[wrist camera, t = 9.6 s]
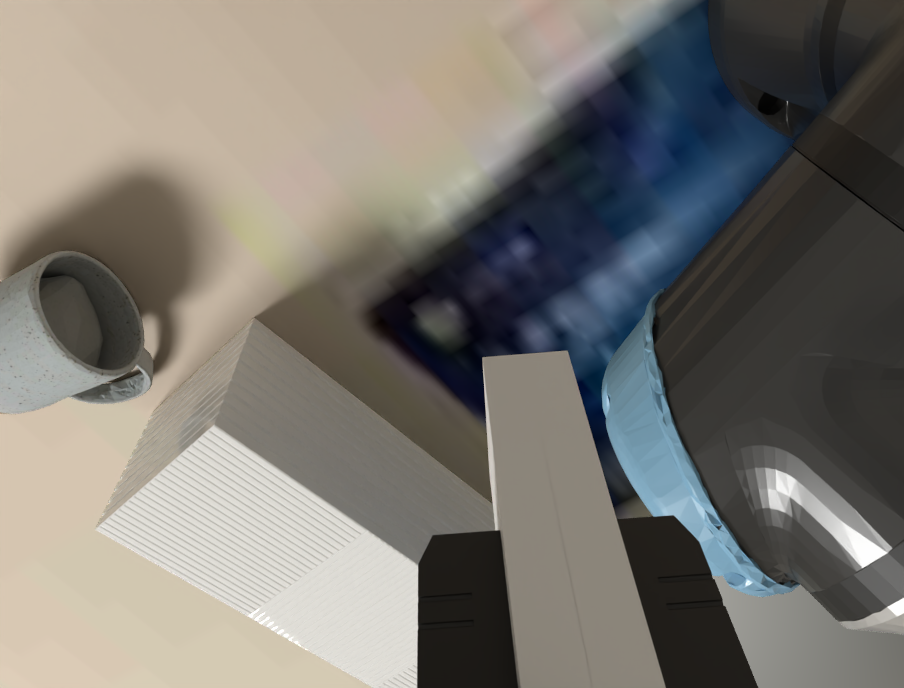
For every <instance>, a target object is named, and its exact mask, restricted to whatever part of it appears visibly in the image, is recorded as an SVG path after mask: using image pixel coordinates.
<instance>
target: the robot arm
mask: <svg viewBox="0 0 904 688" xmlns="http://www.w3.org/2000/svg"><path fill="white" fill-rule="evenodd" d="M708 27H709V37H710V44H711V48H712V53H713V56H714V60H715V63H716V66H717V68H718V71H719V73H720V75H721V77H722V79H723V81H724V83H725V85H726V86H727V88H728V89H729V91H730V92H731V94H732V95H733V96H734V97H735V99H736V100H737V101H738V102H739V103H740V104H741V105H742V106H743V107H744V108H745V109H746V110H747V111H748V112H749V113H751V114H752V115H753V116H755V117H756V118H757V119H759V120H760V121H761V122H763V123H764V124H765V125H767V126H768V127H769V128H771V129H773V130H774V131H776V132H778V133H779V134H782V135H784V136H786V137H788V138H791V139H793V140H796V141H795V142H794V143H793V144H792V145H793V146H794V147H795V148H794V147H793V146H790V147H789V148H788V149H787V151H786V152H785V153H784V154H783V155H782V157H781V158H780V159H779V160H778V161H777V162H776V164H775V165H774V166H773V167H772V168H771V170H770V171H769V172H768V173H767V174H766V176H765V177H764V178H763V179H762V180H761V181H760V183H759V184H758V185H757V186H756V187H755V188H754V189H753V191H752V192H751V193H750V194H749V195H748V196H747V197H746V199H745V200H744V201H743V202H742V203H741V204H740V205H739V207H738V208H737V209H736V210H735V211H734V212H733V213H732V215H731V216H730V217H729V218H728V219H727V220H726V221H725V223H724V224H723V225H722V226H721V227H720V228H719V229H718V231H717V232H716V233H715V234H714V235H713V236H712V237H711V239H710V240H709V241H708V242H707V243H706V244H705V245H704V247H703V248H702V249H701V250H700V251H699V252H698V253H697V255H696V256H695V257H694V258H693V259H692V260H691V262H690V263H689V264H688V265H687V266H686V267H685V268H684V270H683V271H682V272H681V273H680V274H679V275H678V276H677V278H676V279H675V280H674V281H673V282H672V283H671V284H670V286H669V287H668V288H666V289H660V290H659V291H658V292H657V293H656V294H655V295H654V296H653V297H652V299H651V300H650V302H649V304H648V306H647V308H646V313H645V315H644V317H643V318H642V319H641V321H640V322H639V323H638V324H637V326H636V327H635V328H634V329H633V331H632V332H631V333H630V335H629V336H628V337H627V338H626V340H625V341H624V342H623V343H622V345H621V346H620V347H619V349H618V350H617V351H616V352H615V354H614V355H613V357H612V358H611V360H610V362H609V364H608V366H607V369H606V371H605V375H604V379H603V384H602V402H603V405H602V407H603V410H604V413H605V416H606V427H607V431H608V435H609V438H610V441H611V444H612V446H613V449H614V451H615V453H616V455H617V458H618V460H619V462H620V464H621V466H622V468H623V470H624V472H625V474H626V476H627V478H628V479H629V481H630V483H631V484H632V486H633V488H634V489H635V491H636V492H637V494H638V495H639V497H640V498H641V500H642V501H643V503H644V504H645V506H646V507H647V508H648V510H649V511H650V512H651V514H652V515H653V517H642V518H629V519H616V515H615V512H614V508H613V505H612V502H611V498H610V495H609V491H608V488H607V484H606V481H605V478H604V474H603V471H602V467H601V464H600V460H599V457H598V454H597V450H596V447H595V443H594V440H593V437H592V433H591V430H590V426H589V423H588V419H587V416H586V413H585V409H584V406H583V402H582V399H581V395H580V392H579V389H578V385H577V382H576V378H575V375H574V371H573V368H572V365H571V361H570V358H569V354H568V351H557V352H544V353H531V354H518V355H505V356H492V357H482V360H483V376H484V393H485V409H486V425H487V442H488V458H489V473H490V483H491V492H492V502H493V511H494V521H495V531H481V532H468V533H454V534H441V535H432V537H431V539H430V541H429V543H428V545H427V547H426V549H425V551H424V553H423V556H422V558H421V560H420V562H419V564H418V640H417V688H758V686H757V684H756V681H755V679H754V676H753V674H752V671H751V669H750V666H749V664H748V661H747V659H746V656H745V654H744V651H743V649H742V646H741V644H740V641H739V639H738V637H737V634H736V632H735V629H734V627H733V624H732V622H731V619H730V617H729V614H728V612H727V610H726V607H725V606H723V602H722V597H721V594H720V592H719V589H718V587H717V585H716V582H715V580H714V579H713V578H712V575H713V576H721V575H723V577H724V578H725V580H726V581H727V583H728V584H729V586H730V587H732V588H734V589H736V590H738V591H741V592H743V593H746V594H749V595H753V596H761V597H765V596H770V595H775V594H778V593H779V594H784V593H787V592H792V591H793V590H794V589H795V588H796V587H797V586H799V585H800V584H801V585H802V586H803V587H804V588H805V589H806V590H807V591H808V592H809V593H810V594H811V595H812V596H813V597H814V598H815V599H816V600H817V601H818V602H819V603H820V604H821V605H823V607H824V608H825V609H826V610H827V611H828V612H829V613H830V614H831V615H832V616H833V617H834V618H835V619H836V620H837V621H838V622H839V623H840V624H841V625H842V626H844V627H845V628H848V629H854V630H864V631H876V632H886V633H897V634H901V635H904V0H709V5H708Z"/></svg>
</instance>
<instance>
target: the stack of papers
mask: <svg viewBox="0 0 904 688" xmlns="http://www.w3.org/2000/svg"><path fill="white" fill-rule="evenodd" d="M145 428H146V429H144V431H143V433H142V435H141V438H140V439H139V441H138V443H137V445H136V449H134V451H133V453H132V455H131V459H130V460H129V461H128V463H127V465H126V467H125V468H126V469H125V470H124V471H123V473H122V475H121V477H120V481H119V482H118V483H117V485H116V487H115V489H114V491H115V492H114V493H113V494H112V496H111V498H110V500H109V502H108V503H109V504H108V505H107V506H106V508H105V510H104V512H103V514H102V515H103V516H102V517H101V518H100V520H99V522H98V524H97V526H96V528H95V530H97V531H98V532H100V533H102V534H104V535H105V536H107V537H109V538H111V539H113V540H114V541H116V542H118V543H120V544H121V545H123V546H125V547H127V548H128V549H130V550H132V551H134V552H135V553H137V554H139V555H141V556H142V557H144V558H146V559H148V560H149V561H151V562H153V563H155V564H156V565H158V566H160V567H162V568H163V569H165V570H167V571H169V572H170V573H172V574H174V575H176V576H177V577H179V578H181V579H183V580H185V581H186V582H188V583H190V584H192V585H193V586H195V587H197V588H199V589H200V590H202V591H204V592H206V593H207V594H209V595H211V596H213V597H214V598H216V599H218V600H220V601H221V602H223V603H225V604H227V605H228V606H230V607H232V608H234V609H235V610H237V611H239V612H241V613H242V614H244V615H246V616H248V617H250V618H251V619H253V620H255V621H257V622H258V623H260V624H262V625H264V626H265V627H267V628H269V629H271V630H272V631H274V632H276V633H278V634H279V635H281V636H283V637H285V638H286V639H288V640H290V641H292V642H293V643H295V644H297V645H299V646H300V647H302V648H304V649H306V650H307V651H309V652H311V653H313V654H314V655H316V656H318V657H320V658H322V659H323V660H325V661H327V662H329V663H330V664H332V665H334V666H336V667H337V668H339V669H341V670H343V671H344V672H346V673H348V674H350V675H351V676H353V677H355V678H357V679H358V680H360V681H362V682H364V683H365V684H367V685H369V686H371V687H372V688H417V640H418V564H419V562H420V560H421V558H422V556H423V553H424V551H425V549H426V547H427V545H428V543H429V541H430V539H431V537H432V535H441V534H454V533H468V532H481V531H495V521H494V511H493V504H492V503H490V502H489V501H488V500H487V499H485V498H484V497H483V496H481V495H480V494H479V493H478V492H476V491H475V490H474V489H473V488H471V487H470V486H469V485H467V484H466V483H465V482H464V481H462V480H461V479H460V478H458V477H457V476H456V475H455V474H453V473H452V472H451V471H450V470H448V469H447V468H446V467H444V466H443V465H442V464H441V463H439V462H438V461H437V460H436V459H434V458H433V457H432V456H430V455H429V454H428V453H427V452H425V451H424V450H423V449H421V448H420V447H419V446H418V445H416V444H415V443H414V442H413V441H411V440H410V439H409V438H407V437H406V436H405V435H404V434H402V433H401V432H400V431H399V430H397V429H396V428H395V427H393V426H392V425H391V424H390V423H388V422H387V421H386V420H384V419H383V418H382V417H381V416H379V415H378V414H377V413H376V412H374V411H373V410H372V409H370V408H369V407H368V406H367V405H365V404H364V403H363V402H361V401H360V400H359V399H358V398H356V397H355V396H354V395H353V394H351V393H350V392H349V391H347V390H346V389H345V388H344V387H342V386H341V385H340V384H339V383H337V382H336V381H335V380H333V379H332V378H331V377H330V376H328V375H327V374H326V373H324V372H323V371H322V370H321V369H319V368H318V367H317V366H316V365H314V364H313V363H312V362H310V361H309V360H308V359H307V358H305V357H304V356H303V355H302V354H300V353H299V352H298V351H296V350H295V349H294V348H293V347H291V346H290V345H289V344H287V343H286V342H285V341H284V340H282V339H281V338H280V337H279V336H277V335H276V334H275V333H273V332H272V331H271V330H270V329H268V328H267V327H266V326H264V325H263V324H262V323H261V322H259V321H258V320H257V319H256V318H253V319H252V320H251V321H250V322H249V323H248V324H247V325H246V326H245V327H244V328H242V329H241V330H240V331H239V332H238V333H237V334H236V335H235V336H234V337H233V338H232V339H231V340H230V341H228V342H227V343H226V344H225V345H224V346H223V347H222V348H221V349H220V350H219V351H218V352H217V353H216V354H215V355H213V356H212V357H211V358H210V359H209V360H208V361H207V362H206V363H205V364H204V365H203V366H202V367H201V368H200V369H198V370H197V371H196V372H195V373H194V374H193V375H192V376H191V377H190V378H189V379H188V380H187V381H186V382H184V383H183V384H182V385H181V386H180V387H179V388H178V389H177V390H176V391H175V392H174V393H173V394H172V395H171V396H169V397H168V398H167V399H166V400H165V401H164V402H163V403H162V404H161V405H160V406H159V407H158V408H157V409H155V410H154V411H153V413H152V415H151V417H150V420H149V421H148V423H147V425H146V427H145Z"/></svg>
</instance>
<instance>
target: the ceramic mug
mask: <svg viewBox="0 0 904 688" xmlns="http://www.w3.org/2000/svg"><path fill="white" fill-rule="evenodd" d="M135 366H137V367H138V369H139V370H140V371H141V372H142V373H140V374H138V375H136V376H133V377H131V378H127V379H124V380H122V381H119V382H114V383H106V382H108V381H111V380H113V379H116V378H118V377H121V376H123V375H124V374H126V373H128V372H130V371H131V370H133V368H134V367H135ZM152 380H153V359H152V357H151V355H150V353H149V352H148V351H147V350H146V349H145V348H144V329H143V324H142V320H141V317H140V314H139V311H138V308H137V306H136V304H135V302H134V300H133V298H132V297H131V295H130V293H129V292H128V290H127V289H126V288H125V286H124V285H123V283H122V282H121V281H120V280H119V279H118V278H117V276H116V275H115V274H114V273H113V272H111V270H110V269H109V268H107V267H106V266H105V265H103V264H102V263H101V262H99V261H98V260H97V259H94V258H92V257H90V256H88V255H86V254H84V253H80V252H76V251H58V252H54V253H51V254H49V255H47V256H45V257H43V258H41V259H40V260H38V261H37V262H35V263H33V264H32V265H30V266H28V267H26V268H25V269H23V270H21V271H19V272H17V273H15V274H14V275H12V276H10V277H8V278H6V279H5V280H3V281H2V282H0V413H1V414H19V413H25V412H30V411H34V410H37V409H41V408H44V407H47V406H50V405H52V404H54V403H56V402H58V401H60V400H62V399H65V398H67V397H70V398H72V399H75V400H79V401H83V402H86V403H93V404H112V403H119V402H124V401H128V400H131V399H134V398H137V397H139V396H141V395H143V394H144V393H146V392H147V391H148V390H149V389H150V387H151V385H152ZM103 383H106V384H103Z"/></svg>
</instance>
